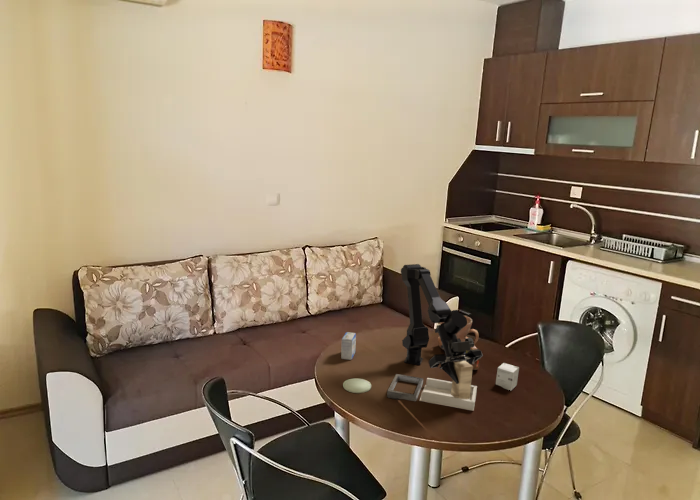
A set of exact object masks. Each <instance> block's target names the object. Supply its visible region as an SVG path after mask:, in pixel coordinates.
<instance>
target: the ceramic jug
mask: <svg viewBox="0 0 700 500" xmlns="http://www.w3.org/2000/svg"><path fill="white" fill-rule="evenodd" d="M464 316H465V317H466V319H467V325H466V326H465V327H464V328H463V329H462V330H460V331H459V332H458V333H457V334H456V336H457V338H460V340H461V342H464V341H465V339H466V338H469V336H467V335H468V334H471V333H474V339H473V342H474V345H475V344H477V343H478V340H479V338H480V337H479V332H478V330H477V329H474V328H472V324H473V319H472V318H471V317H469V316H468V315H464ZM442 323H444V322H442ZM442 323H437V324H438V325H440V324H442ZM437 344H438V346H439V348H441V345H442V342H441V339H440V337H439V336H438V337H437ZM442 351H444V348H443V349H442Z"/></svg>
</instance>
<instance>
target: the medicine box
mask: <svg viewBox="0 0 700 500" xmlns="http://www.w3.org/2000/svg"><path fill="white" fill-rule="evenodd" d="M356 334H357V333H356V332H349V331H346V332H345V333H344V335H343V336H342V338H341V349H340V350H341V352H340V355H341V356H340V357H341V359H342V360H350V361H352V360H353V359H354V355H355V353H356V346H357V345H356V341H357V335H356Z"/></svg>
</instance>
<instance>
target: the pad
mask: <svg viewBox="0 0 700 500" xmlns="http://www.w3.org/2000/svg"><path fill="white" fill-rule="evenodd" d="M342 386H343V389H344V390H345V391H347V392H349V393H352V394H353V393H354V394H364V393H366V392H369V391H371V389H372V384H371V382H370V381H368V380H366V379H364V378H359V377H358V378H350V379H346V380H345V381H343V383H342Z"/></svg>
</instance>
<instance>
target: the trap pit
mask: <svg viewBox="0 0 700 500" xmlns="http://www.w3.org/2000/svg"><path fill="white" fill-rule="evenodd" d="M398 382H404V383H410V384H411V383H412V384H416V385H417V386H416V388H415V391H414V394H413V393H409V392H403V391H399V390H398V391H397V390H394V389H395V387H396V385H397V383H398ZM423 384H424V378H421V377H417V376H410V375H405V374H398V373H395V376H394V378H393V379H392V381H391V383H390V386H389V387H388V389H387V392H386V393H387V395H386V398H388V399H392V400H398V401H400V400H406V401H410V402H411V401H412V402H417V400H418V398H419V395H420V392H421V390H422V387H423Z"/></svg>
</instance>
